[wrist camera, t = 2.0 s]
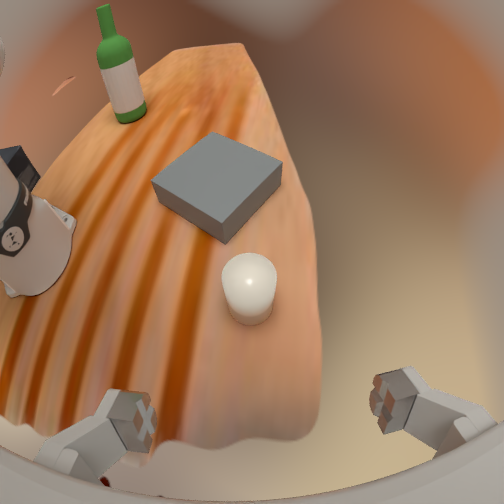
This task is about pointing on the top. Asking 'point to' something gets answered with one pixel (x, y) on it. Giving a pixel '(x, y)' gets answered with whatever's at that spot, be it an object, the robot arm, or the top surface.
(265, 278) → the cylinder
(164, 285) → the top surface
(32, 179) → the small box
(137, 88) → the wine bottle
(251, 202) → the plinth
